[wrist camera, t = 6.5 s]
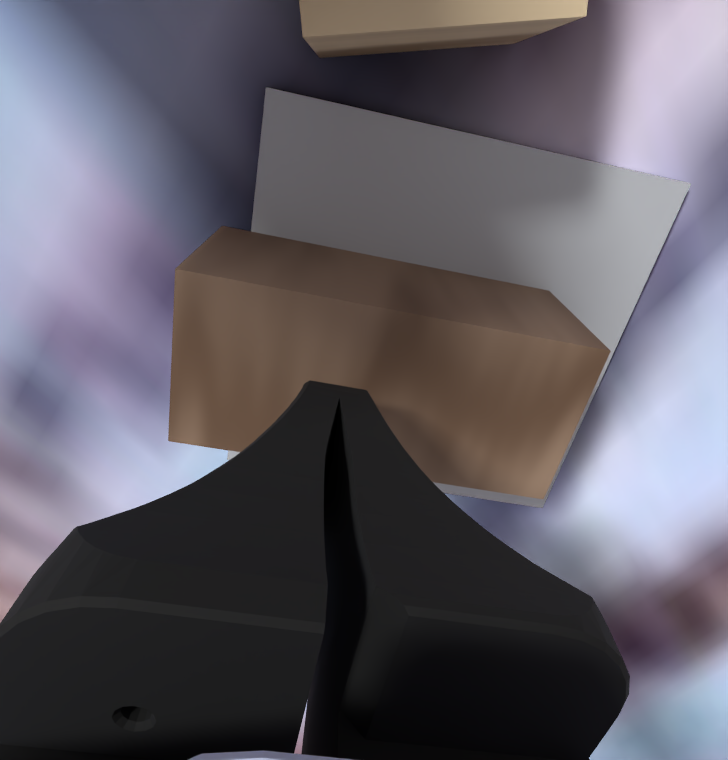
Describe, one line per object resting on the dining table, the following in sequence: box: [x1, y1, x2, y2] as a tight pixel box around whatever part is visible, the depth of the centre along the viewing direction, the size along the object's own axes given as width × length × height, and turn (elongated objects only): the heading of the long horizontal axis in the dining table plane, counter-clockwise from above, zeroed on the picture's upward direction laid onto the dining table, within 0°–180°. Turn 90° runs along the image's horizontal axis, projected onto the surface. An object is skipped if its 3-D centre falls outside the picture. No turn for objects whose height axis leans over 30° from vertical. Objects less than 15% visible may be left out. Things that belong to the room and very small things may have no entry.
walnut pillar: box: [168, 226, 611, 499], centre depth 15 cm, size 4×4×10 cm
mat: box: [227, 87, 691, 508], centre depth 17 cm, size 12×12×1 cm
